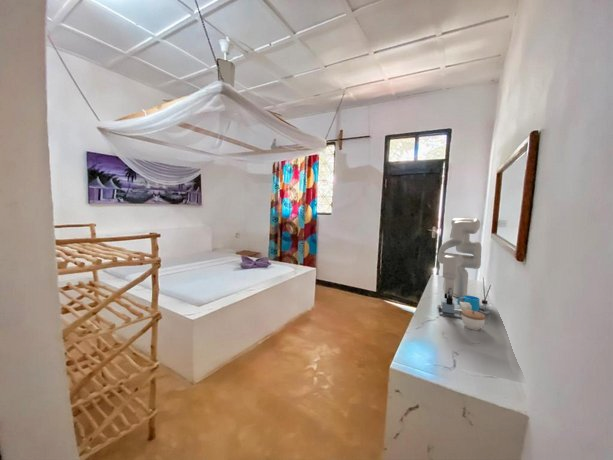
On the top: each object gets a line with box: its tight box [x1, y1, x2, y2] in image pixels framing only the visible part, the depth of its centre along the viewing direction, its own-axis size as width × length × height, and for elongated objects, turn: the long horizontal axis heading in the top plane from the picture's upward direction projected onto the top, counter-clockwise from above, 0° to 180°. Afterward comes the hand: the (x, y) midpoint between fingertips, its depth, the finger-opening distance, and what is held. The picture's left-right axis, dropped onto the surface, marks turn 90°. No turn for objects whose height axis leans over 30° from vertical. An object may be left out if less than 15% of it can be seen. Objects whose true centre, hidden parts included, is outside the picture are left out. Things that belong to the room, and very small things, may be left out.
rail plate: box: [436, 301, 472, 320], centre depth 151 cm, size 14×18×7 cm
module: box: [440, 298, 456, 313], centre depth 153 cm, size 7×6×6 cm
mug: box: [456, 295, 480, 312], centre depth 158 cm, size 12×8×8 cm
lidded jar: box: [461, 310, 486, 331], centre depth 133 cm, size 11×11×9 cm
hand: (448, 301), depth 153 cm, fingers open, 9 cm apart
